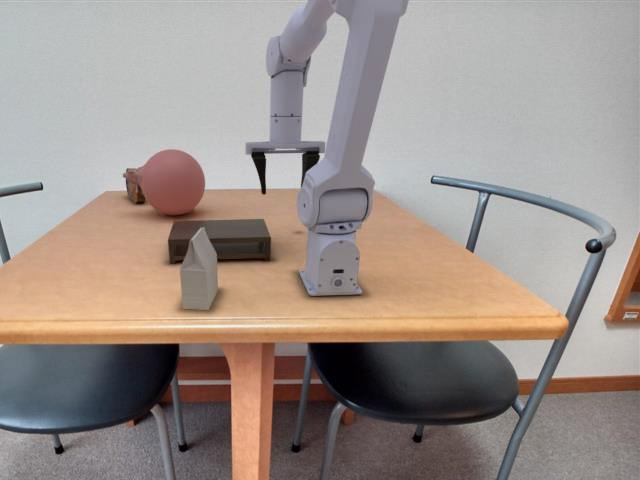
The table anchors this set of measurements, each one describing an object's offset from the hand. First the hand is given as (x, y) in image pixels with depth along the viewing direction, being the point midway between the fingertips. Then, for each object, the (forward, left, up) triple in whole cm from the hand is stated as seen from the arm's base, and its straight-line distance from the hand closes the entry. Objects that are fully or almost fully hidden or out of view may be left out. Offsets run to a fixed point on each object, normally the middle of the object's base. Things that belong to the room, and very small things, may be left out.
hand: (283, 193), depth 83 cm
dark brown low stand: (-4, +13, -10) cm, 17 cm away
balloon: (+25, +26, -10) cm, 37 cm away
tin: (+41, +36, -10) cm, 55 cm away
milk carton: (-25, +16, -10) cm, 32 cm away
